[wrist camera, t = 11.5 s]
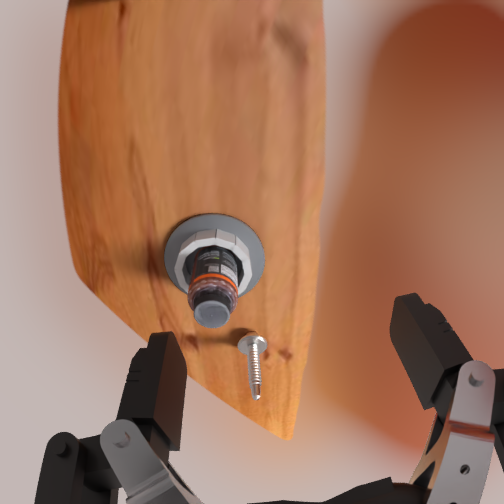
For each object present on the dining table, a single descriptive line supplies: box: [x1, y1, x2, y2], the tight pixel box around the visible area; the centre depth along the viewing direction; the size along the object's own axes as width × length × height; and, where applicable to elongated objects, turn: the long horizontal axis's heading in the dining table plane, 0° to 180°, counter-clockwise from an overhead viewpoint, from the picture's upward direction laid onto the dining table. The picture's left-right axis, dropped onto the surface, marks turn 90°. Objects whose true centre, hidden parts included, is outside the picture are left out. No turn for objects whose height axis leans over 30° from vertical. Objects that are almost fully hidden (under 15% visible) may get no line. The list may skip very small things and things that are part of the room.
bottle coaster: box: [164, 213, 265, 298], centre depth 42 cm, size 14×14×3 cm
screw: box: [238, 332, 267, 400], centre depth 46 cm, size 13×5×5 cm
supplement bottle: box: [188, 245, 238, 328], centre depth 38 cm, size 6×6×11 cm
